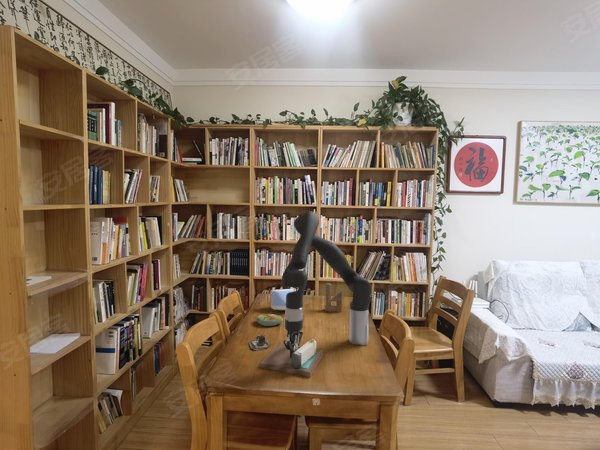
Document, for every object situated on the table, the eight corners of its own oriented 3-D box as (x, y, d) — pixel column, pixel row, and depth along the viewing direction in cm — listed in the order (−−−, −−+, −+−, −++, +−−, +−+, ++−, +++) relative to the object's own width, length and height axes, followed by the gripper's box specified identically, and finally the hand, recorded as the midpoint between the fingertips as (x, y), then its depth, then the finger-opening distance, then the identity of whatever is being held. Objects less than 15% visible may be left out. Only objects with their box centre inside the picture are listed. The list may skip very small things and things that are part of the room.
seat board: (323, 354, 143) (323, 350, 143) (310, 377, 124) (310, 371, 124) (278, 347, 150) (278, 343, 150) (260, 367, 131) (260, 362, 131)
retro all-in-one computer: (262, 307, 211) (262, 287, 210) (289, 304, 217) (289, 285, 216) (270, 317, 191) (270, 295, 191) (299, 314, 198) (299, 293, 197)
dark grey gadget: (258, 334, 162) (273, 331, 156) (260, 347, 160) (276, 344, 154) (241, 339, 152) (256, 335, 146) (243, 353, 150) (259, 350, 145)
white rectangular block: (310, 349, 143) (310, 336, 143) (318, 351, 141) (318, 338, 141) (289, 366, 128) (289, 352, 127) (298, 369, 126) (298, 354, 125)
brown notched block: (341, 312, 201) (342, 285, 200) (325, 311, 202) (325, 284, 201) (341, 310, 204) (342, 283, 203) (325, 310, 206) (325, 283, 205)
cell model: (259, 315, 187) (282, 307, 184) (263, 328, 185) (286, 320, 182) (251, 318, 177) (275, 310, 173) (255, 331, 175) (279, 324, 172)
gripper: (293, 311, 138) (292, 349, 139) (277, 320, 127) (277, 362, 127) (309, 314, 135) (308, 353, 136) (294, 324, 123) (293, 367, 124)
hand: (292, 357), depth 132 cm, fingers closed
